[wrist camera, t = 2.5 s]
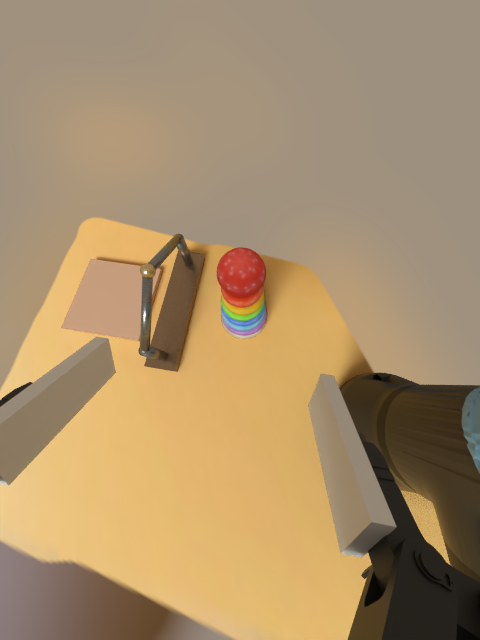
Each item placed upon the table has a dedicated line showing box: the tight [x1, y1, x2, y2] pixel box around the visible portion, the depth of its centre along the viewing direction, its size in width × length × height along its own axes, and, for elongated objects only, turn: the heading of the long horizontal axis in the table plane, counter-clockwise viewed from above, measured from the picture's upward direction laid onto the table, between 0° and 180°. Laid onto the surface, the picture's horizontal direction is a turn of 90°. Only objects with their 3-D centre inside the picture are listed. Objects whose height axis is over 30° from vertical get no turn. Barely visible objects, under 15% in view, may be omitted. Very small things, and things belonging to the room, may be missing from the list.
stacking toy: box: [217, 248, 267, 339], centre depth 28 cm, size 8×8×19 cm
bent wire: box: [139, 234, 205, 372], centre depth 31 cm, size 22×5×14 cm, turn 171°
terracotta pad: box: [61, 259, 163, 341], centre depth 38 cm, size 14×14×1 cm
